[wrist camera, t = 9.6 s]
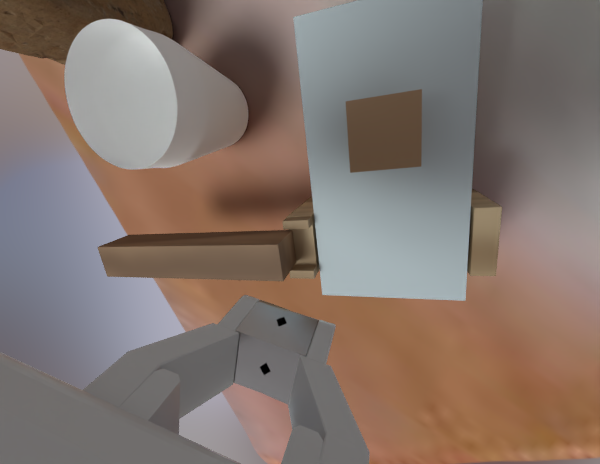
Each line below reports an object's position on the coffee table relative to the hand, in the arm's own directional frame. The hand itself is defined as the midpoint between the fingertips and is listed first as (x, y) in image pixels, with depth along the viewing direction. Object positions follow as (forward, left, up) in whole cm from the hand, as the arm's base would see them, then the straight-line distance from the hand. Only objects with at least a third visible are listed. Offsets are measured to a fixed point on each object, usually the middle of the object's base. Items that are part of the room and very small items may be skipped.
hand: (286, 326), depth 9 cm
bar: (+2, -11, -11) cm, 16 cm away
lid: (-3, +3, -13) cm, 14 cm away
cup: (-9, -13, -21) cm, 26 cm away
